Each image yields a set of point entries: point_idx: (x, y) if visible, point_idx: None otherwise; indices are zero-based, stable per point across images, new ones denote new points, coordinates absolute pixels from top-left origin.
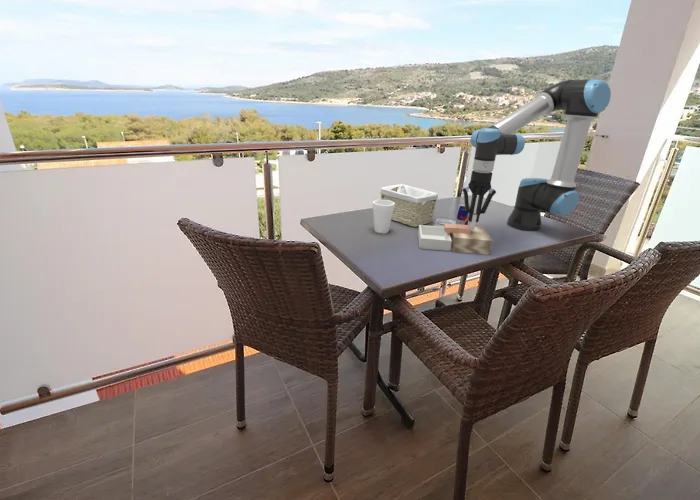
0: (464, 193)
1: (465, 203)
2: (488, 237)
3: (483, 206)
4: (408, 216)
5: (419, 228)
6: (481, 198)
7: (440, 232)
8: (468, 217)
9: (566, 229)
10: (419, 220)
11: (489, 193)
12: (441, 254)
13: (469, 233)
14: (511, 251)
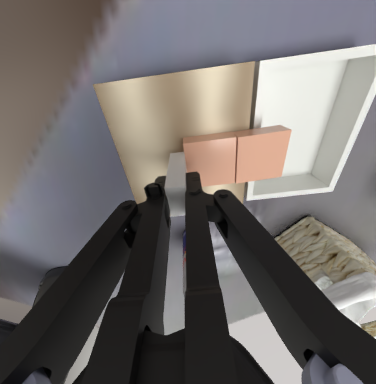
0: (357, 327)
1: (263, 227)
2: (112, 121)
3: (128, 247)
4: (337, 238)
5: (344, 162)
6: (133, 292)
7: (259, 185)
8: (184, 260)
9: (4, 288)
10: (299, 236)
11: (34, 381)
12: (285, 10)
13: (186, 137)
14: (59, 141)
